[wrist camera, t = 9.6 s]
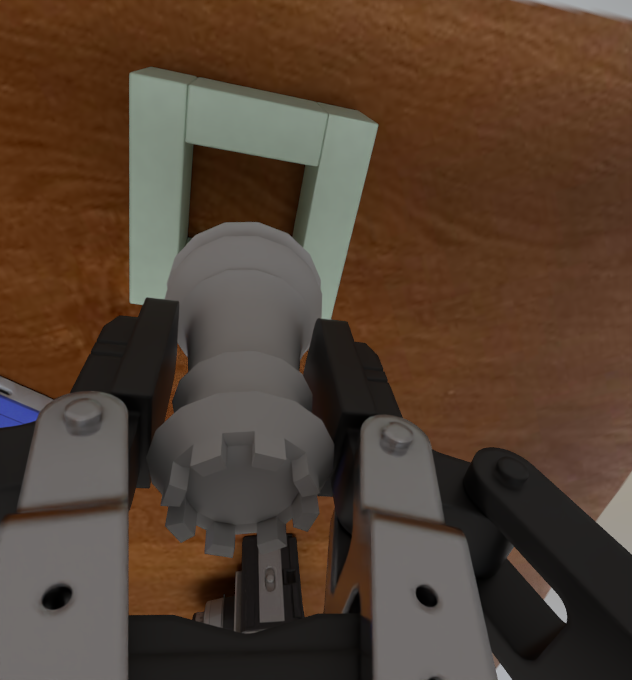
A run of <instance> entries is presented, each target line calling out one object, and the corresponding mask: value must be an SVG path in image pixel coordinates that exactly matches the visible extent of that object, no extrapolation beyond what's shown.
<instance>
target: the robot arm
mask: <svg viewBox="0 0 632 680" xmlns="http://www.w3.org/2000/svg"><path fill="white" fill-rule="evenodd" d="M178 323H179V301H174V300H165V299H157V298H149V297H146V299H145V301H144V304H143V306H142V309H141V311H140V313H139V316H138V317H129V316H118V317H117V318H115V319H114V320H112V321H111V322H109V323H108V324H106V325H105V326H104V327H103V329H102V331H101V333H100V335H99V337H98V339H97V343H95V345H94V347H93V349H92V351H91V354H89V356H88V358H87V360H86V362H85V364H84V366H83V368H82V370H81V372H80V374H79V376H78V378H77V380H76V382H75V384H74V386H73V388H72V390H71V392H70V394H66V395H63V396H61V397H58V398H56V399H54V400H53V401H51V402H50V403H48V404H47V405H46V406H45V407H44V408H43V409H42V410H41V411H40V413H39V414H38V417H37V420H36V421H33V422H30V423H26V424H22V425H17V426H11V427H4V428H0V680H498V679H497V674H496V670H495V665H494V661H493V656H492V653H493V654H494V655H495V657H496V658H497V659H498V661H499V662H500V663H501V665H502V666H503V667H504V669H505V670H506V672H507V673H508V674H509V675H510V677H511V678H512V680H632V555H631V554H630V553H629V552H628V551H627V550H626V549H625V548H624V547H623V546H622V545H621V544H619V543H618V542H617V541H616V540H615V539H614V538H613V537H612V536H610V535H609V534H608V533H607V532H606V531H605V530H604V529H603V528H602V527H601V526H600V525H598V524H597V523H596V522H595V521H594V520H593V519H592V518H591V517H590V516H588V515H587V514H586V513H585V512H584V511H583V510H582V509H581V508H580V507H579V506H577V505H576V504H575V503H574V502H573V501H572V500H571V499H570V498H569V497H567V496H566V495H565V494H564V493H563V492H562V491H561V490H560V489H559V488H558V487H556V486H555V485H554V484H553V483H552V482H551V481H550V480H549V479H548V478H546V477H545V476H544V475H543V474H542V473H541V472H540V471H539V470H538V469H537V468H535V467H534V466H533V465H532V464H531V463H530V462H528V461H527V460H525V459H524V458H523V457H521V456H519V455H517V454H515V453H513V452H511V451H508V450H505V449H501V448H494V447H490V448H483V449H481V450H479V451H478V452H477V453H476V454H475V456H474V458H473V460H472V462H471V463H470V462H467V461H464V460H461V459H458V458H454V457H451V456H448V455H445V454H442V453H439V452H437V451H434V450H432V448H431V444H430V441H429V439H428V437H427V436H426V434H425V433H424V432H423V431H422V430H421V429H420V428H419V427H417V426H416V425H415V424H413V423H412V422H410V421H408V420H406V419H403V417H402V415H401V412H400V410H399V407H398V405H397V402H396V400H395V397H394V395H393V392H392V390H391V387H390V385H389V383H387V377H386V375H385V372H383V367H382V365H381V362H380V360H379V357H378V355H377V354H376V353H375V352H374V351H373V350H372V349H371V348H370V347H369V346H368V345H367V344H366V343H360V342H354V339H353V336H352V333H351V330H350V327H349V324H348V322H346V321H338V320H330V319H322V318H318V319H317V320H316V322H315V325H314V329H313V334H312V338H311V342H310V347H309V351H308V356H307V360H306V364H305V369H304V374H303V376H304V378H305V380H306V382H307V384H308V386H309V388H310V390H311V392H312V394H313V396H312V414H314V415H315V416H317V417H318V418H319V419H321V420H322V422H323V424H324V426H325V427H326V429H327V431H328V433H329V435H330V437H331V439H332V441H333V443H334V461H333V471H332V472H331V474H330V476H329V477H328V479H327V481H326V482H325V484H324V485H323V487H322V489H321V490H320V493H319V494H317V495H318V496H330V497H333V498H334V504H335V509H334V512H333V515H332V518H331V521H330V531H329V546H328V561H327V575H326V590H325V604H324V612H323V614H315V615H312V616H308V617H305V618H302V619H298V620H295V621H292V622H288V623H285V624H282V625H278V626H275V627H272V628H268V629H265V630H261V631H258V632H254V633H240V632H236V631H232V630H228V629H224V628H221V627H217V626H213V625H209V624H206V623H202V622H198V621H194V620H190V619H187V618H183V617H179V616H175V615H129V604H128V512H129V510H130V507H131V504H132V501H133V497H134V493H135V489H136V488H150V484H151V476H150V472H149V467H148V463H147V459H146V457H147V454H148V451H149V448H150V445H151V442H152V440H153V437H154V434H155V431H156V430H157V429H158V428H159V427H160V426H161V425H162V424H163V423H164V421H165V417H166V412H167V408H168V403H169V399H170V394H171V390H172V385H173V380H174V374H175V367H176V356H177V340H178ZM513 547H515V548H516V549H517V550H518V551H519V552H520V553H521V555H522V556H523V557H524V558H525V559H526V560H527V561H528V562H529V563H530V564H531V565H532V567H533V568H534V569H535V570H536V571H537V572H538V573H539V574H540V575H541V576H542V577H543V579H544V580H545V581H546V582H547V583H548V584H549V585H550V586H551V587H552V588H553V590H554V591H555V592H556V593H557V594H558V595H559V597H560V598H561V600H562V601H563V603H564V605H565V608H566V611H567V623H564V622H563V621H562V620H561V619H560V618H559V617H558V616H557V615H556V614H555V612H554V611H553V610H552V609H551V608H550V607H549V606H548V605H547V604H546V602H545V601H544V600H543V599H542V598H541V597H540V595H539V594H538V593H537V592H536V591H535V590H534V589H533V588H532V586H531V585H530V584H529V583H528V582H527V581H526V580H525V578H524V577H523V576H522V575H521V574H520V573H519V572H518V571H517V569H516V568H515V567H514V566H513V565H512V564H511V563H510V562H509V560H508V559H507V556H508V555H509V553H510V552H511V550H512V549H513Z"/></svg>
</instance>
